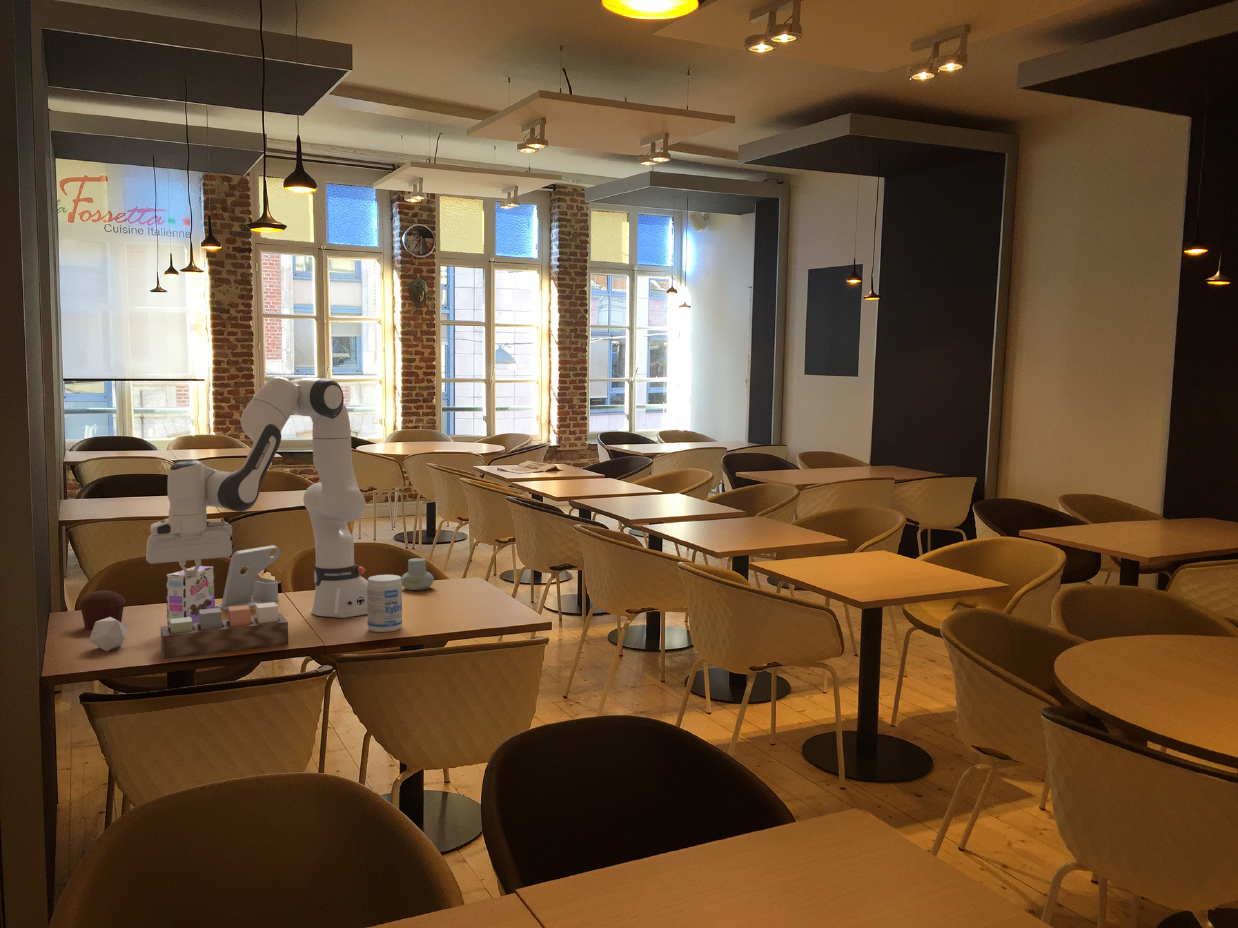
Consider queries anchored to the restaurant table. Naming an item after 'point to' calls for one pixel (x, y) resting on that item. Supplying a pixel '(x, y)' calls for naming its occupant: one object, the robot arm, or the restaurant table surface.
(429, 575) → the air freshener
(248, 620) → the terracotta key
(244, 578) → the phone holder
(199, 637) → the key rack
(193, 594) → the candy box
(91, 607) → the muffin
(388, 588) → the supplement tub
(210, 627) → the slate key
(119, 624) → the die
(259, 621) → the ivory key
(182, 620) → the sage key
